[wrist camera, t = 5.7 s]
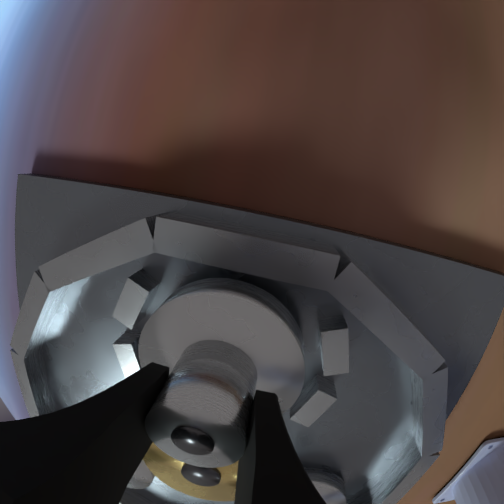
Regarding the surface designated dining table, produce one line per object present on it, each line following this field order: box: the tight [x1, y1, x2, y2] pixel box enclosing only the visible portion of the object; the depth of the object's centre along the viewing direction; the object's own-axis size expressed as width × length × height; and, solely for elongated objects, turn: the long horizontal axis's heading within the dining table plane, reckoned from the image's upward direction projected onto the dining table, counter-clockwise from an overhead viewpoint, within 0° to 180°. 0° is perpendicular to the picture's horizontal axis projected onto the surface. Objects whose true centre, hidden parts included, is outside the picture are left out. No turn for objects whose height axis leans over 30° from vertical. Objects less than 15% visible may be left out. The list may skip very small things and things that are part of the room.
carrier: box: [10, 173, 504, 504], centre depth 12 cm, size 25×25×6 cm
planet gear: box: [138, 278, 305, 468], centre depth 9 cm, size 6×6×5 cm
